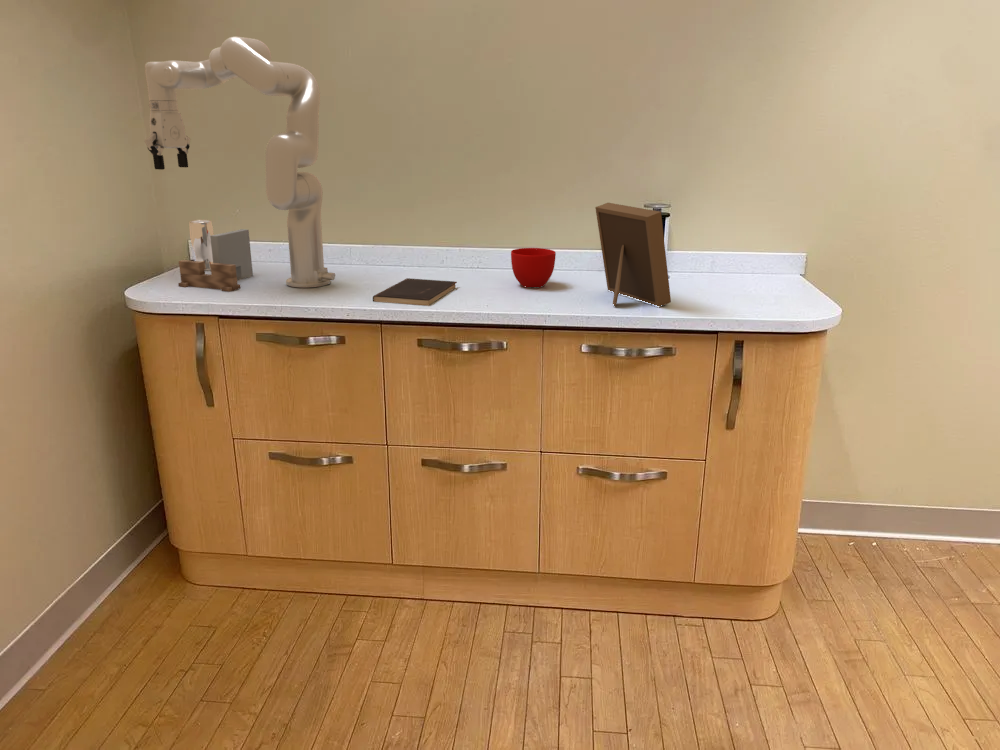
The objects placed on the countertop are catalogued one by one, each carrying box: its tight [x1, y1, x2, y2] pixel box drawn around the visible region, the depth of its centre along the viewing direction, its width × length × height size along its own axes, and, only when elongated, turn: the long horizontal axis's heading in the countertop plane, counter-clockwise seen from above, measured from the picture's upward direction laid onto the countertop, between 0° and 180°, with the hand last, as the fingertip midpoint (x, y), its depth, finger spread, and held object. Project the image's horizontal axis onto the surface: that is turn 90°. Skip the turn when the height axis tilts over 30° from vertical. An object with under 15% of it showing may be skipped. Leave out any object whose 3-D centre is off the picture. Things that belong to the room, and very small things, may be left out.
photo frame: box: [594, 202, 672, 307], centre depth 203 cm, size 15×22×25 cm
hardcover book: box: [372, 277, 458, 307], centre depth 212 cm, size 16×23×2 cm
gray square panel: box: [210, 228, 254, 280], centre depth 225 cm, size 2×14×14 cm, turn 160°
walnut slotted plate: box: [178, 259, 242, 293], centre depth 216 cm, size 18×5×7 cm, turn 70°
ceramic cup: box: [510, 247, 557, 288], centre depth 224 cm, size 13×17×10 cm
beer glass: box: [188, 219, 215, 272], centre depth 240 cm, size 7×7×15 cm
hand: (171, 168), depth 227 cm, fingers open, 9 cm apart
